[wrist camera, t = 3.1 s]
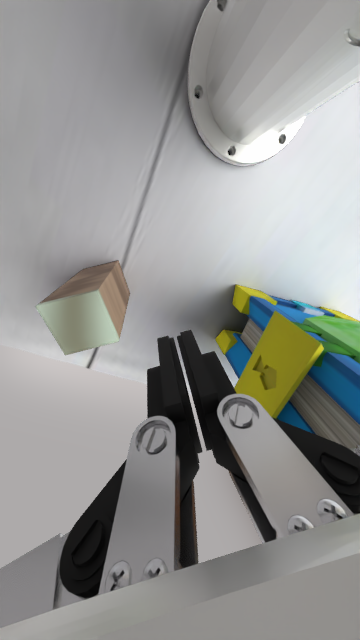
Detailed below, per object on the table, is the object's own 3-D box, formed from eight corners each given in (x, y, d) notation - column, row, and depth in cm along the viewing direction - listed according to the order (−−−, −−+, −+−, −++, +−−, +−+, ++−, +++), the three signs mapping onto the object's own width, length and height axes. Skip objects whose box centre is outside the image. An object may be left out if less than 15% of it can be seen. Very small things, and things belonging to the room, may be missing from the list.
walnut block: (118, 260, 25) (97, 290, 14) (130, 293, 27) (118, 341, 16) (83, 269, 25) (35, 306, 14) (97, 301, 27) (65, 355, 16)
